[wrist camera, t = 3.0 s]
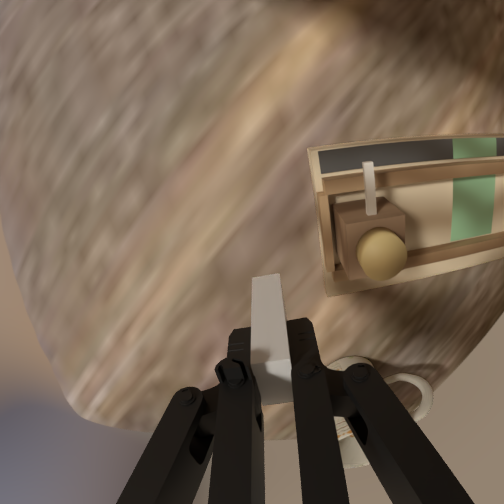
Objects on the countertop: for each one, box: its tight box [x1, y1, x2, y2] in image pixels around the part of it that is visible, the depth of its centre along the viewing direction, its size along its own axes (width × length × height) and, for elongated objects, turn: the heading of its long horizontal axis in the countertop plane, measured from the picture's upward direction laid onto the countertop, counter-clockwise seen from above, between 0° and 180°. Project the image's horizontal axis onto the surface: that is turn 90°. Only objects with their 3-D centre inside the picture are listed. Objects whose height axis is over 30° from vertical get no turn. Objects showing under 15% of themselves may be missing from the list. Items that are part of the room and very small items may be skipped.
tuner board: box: [307, 134, 504, 297], centre depth 23 cm, size 12×20×2 cm, turn 101°
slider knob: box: [332, 161, 407, 281], centre depth 20 cm, size 7×4×6 cm, turn 11°
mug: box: [327, 356, 433, 468], centre depth 28 cm, size 8×13×10 cm, turn 106°
